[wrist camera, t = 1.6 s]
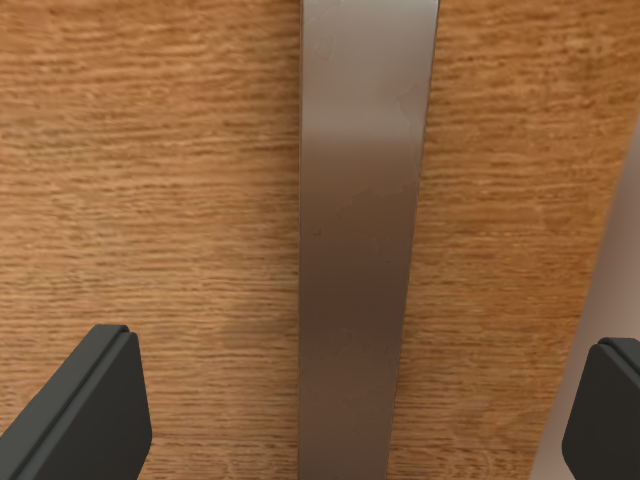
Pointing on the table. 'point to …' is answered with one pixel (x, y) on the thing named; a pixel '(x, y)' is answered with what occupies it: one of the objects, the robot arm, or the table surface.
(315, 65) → the stick
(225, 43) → the table surface
